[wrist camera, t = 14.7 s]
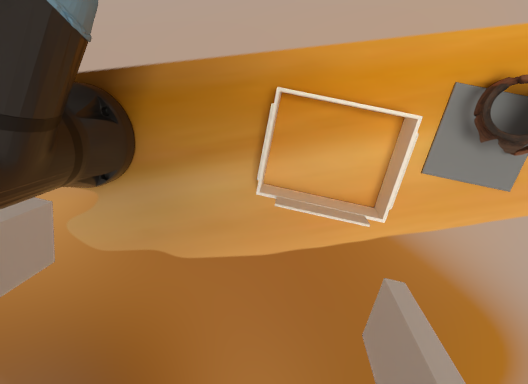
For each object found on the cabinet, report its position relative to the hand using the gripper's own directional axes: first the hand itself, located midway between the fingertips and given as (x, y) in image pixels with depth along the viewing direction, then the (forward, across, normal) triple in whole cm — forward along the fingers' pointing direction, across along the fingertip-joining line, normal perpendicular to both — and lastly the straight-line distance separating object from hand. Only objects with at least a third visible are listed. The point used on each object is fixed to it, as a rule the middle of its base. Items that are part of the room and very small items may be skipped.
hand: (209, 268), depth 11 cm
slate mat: (+32, +27, +7) cm, 42 cm away
